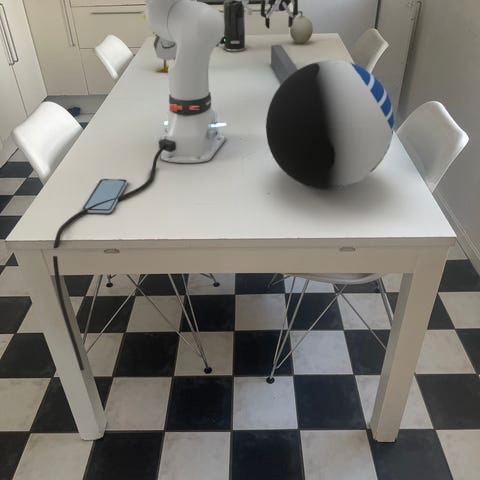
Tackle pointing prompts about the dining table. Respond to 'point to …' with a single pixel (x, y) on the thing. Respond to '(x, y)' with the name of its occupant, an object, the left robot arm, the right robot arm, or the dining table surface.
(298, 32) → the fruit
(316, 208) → the dining table surface
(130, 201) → the dining table surface
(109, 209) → the smartphone
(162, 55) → the toy
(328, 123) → the black and white ball
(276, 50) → the post
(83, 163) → the dining table surface
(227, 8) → the right robot arm
